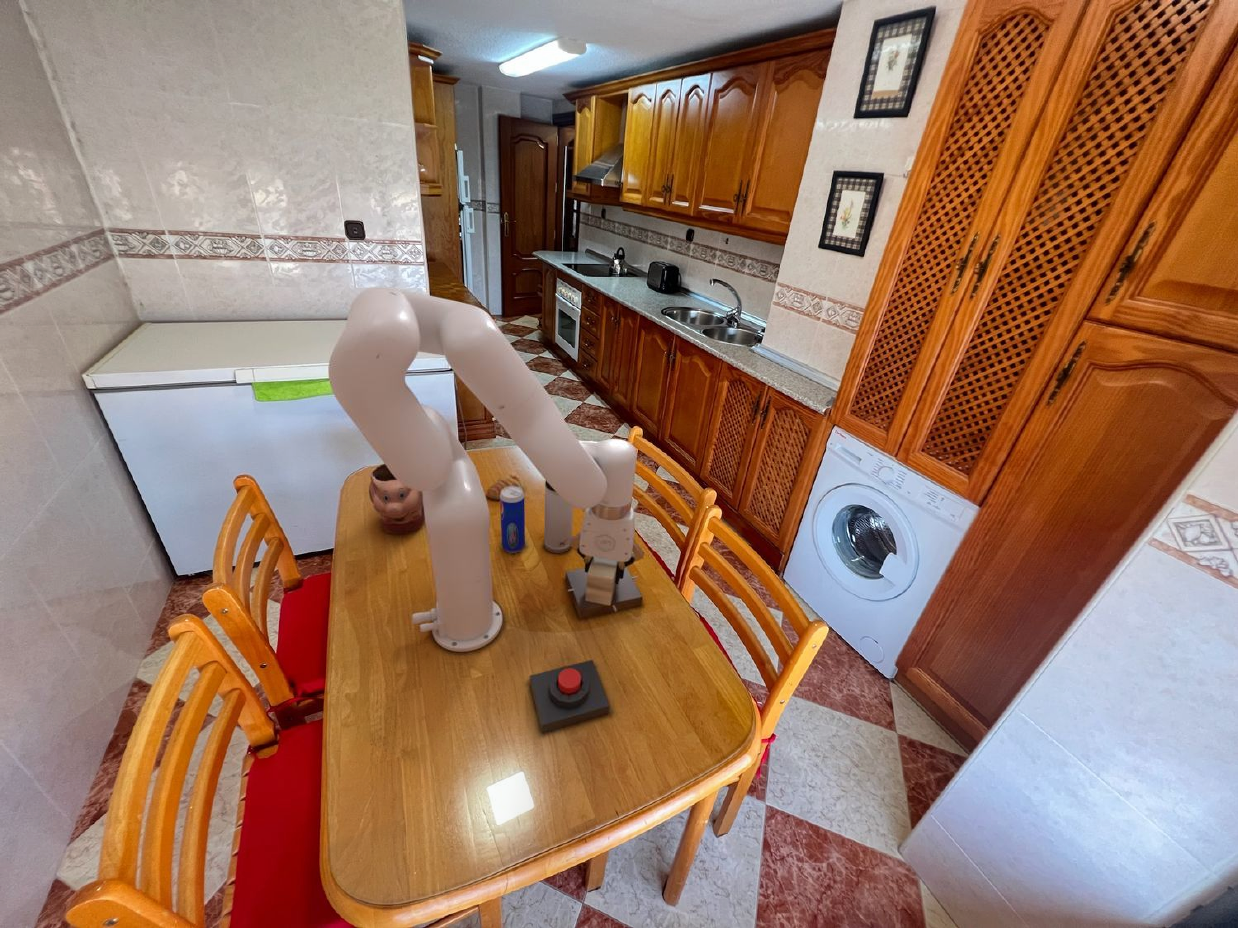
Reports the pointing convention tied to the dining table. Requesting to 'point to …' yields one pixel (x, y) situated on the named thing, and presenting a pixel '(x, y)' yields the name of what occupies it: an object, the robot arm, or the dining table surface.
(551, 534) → the travel mug
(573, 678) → the button
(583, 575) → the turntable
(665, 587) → the dining table surface
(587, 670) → the button block
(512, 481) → the pastry
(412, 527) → the decorative planter
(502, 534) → the beverage can
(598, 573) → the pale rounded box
